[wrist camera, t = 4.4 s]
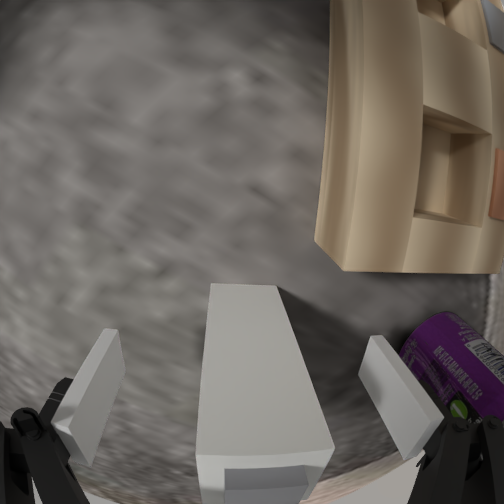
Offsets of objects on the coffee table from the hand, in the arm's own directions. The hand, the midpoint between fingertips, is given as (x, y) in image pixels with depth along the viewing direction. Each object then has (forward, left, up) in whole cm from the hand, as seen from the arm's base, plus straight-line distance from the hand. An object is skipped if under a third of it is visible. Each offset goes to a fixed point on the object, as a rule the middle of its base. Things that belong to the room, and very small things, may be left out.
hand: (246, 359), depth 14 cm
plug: (0, 0, -5) cm, 5 cm away
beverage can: (+16, -3, -5) cm, 17 cm away
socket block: (+10, +16, -5) cm, 19 cm away
